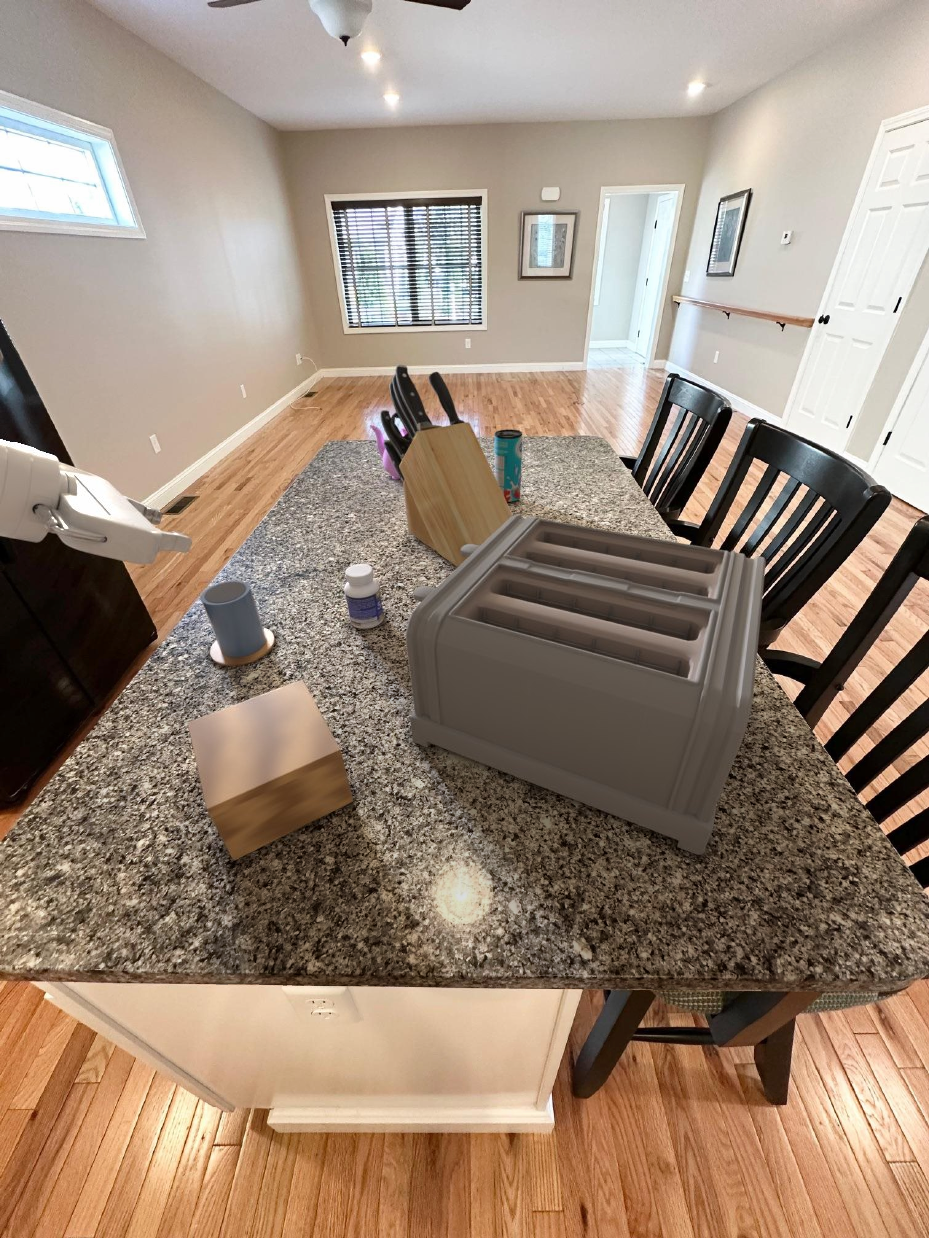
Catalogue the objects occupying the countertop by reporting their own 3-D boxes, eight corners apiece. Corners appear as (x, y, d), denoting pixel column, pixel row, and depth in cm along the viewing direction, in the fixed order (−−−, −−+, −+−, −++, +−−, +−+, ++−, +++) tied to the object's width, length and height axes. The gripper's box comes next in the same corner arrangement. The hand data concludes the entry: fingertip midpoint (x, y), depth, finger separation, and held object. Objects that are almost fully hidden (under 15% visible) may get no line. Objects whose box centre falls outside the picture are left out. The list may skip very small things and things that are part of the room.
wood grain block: (233, 861, 48) (206, 809, 44) (211, 773, 57) (187, 722, 52) (353, 801, 53) (340, 749, 49) (317, 728, 62) (302, 678, 57)
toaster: (492, 602, 83) (492, 500, 73) (732, 662, 69) (772, 547, 59) (383, 730, 61) (362, 609, 51) (702, 856, 47) (758, 724, 37)
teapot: (361, 479, 132) (354, 431, 125) (389, 462, 143) (384, 417, 136) (430, 488, 126) (427, 438, 119) (454, 470, 136) (452, 422, 129)
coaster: (216, 674, 71) (215, 672, 70) (205, 641, 77) (205, 639, 77) (281, 651, 74) (281, 649, 74) (266, 621, 81) (265, 619, 80)
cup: (225, 663, 72) (204, 610, 67) (216, 640, 76) (196, 588, 71) (271, 647, 74) (254, 594, 69) (260, 626, 79) (244, 575, 74)
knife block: (432, 506, 116) (421, 355, 99) (531, 568, 92) (540, 381, 74) (387, 519, 112) (367, 362, 94) (479, 587, 87) (475, 392, 69)
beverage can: (517, 506, 115) (519, 437, 107) (491, 503, 117) (491, 436, 108) (522, 496, 120) (525, 430, 111) (498, 494, 121) (498, 428, 113)
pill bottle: (387, 624, 79) (380, 574, 74) (354, 633, 77) (344, 582, 72) (379, 607, 83) (372, 558, 78) (347, 615, 81) (337, 566, 76)
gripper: (58, 495, 43) (218, 535, 54) (13, 438, 55) (152, 481, 66) (38, 564, 44) (199, 589, 55) (-2, 493, 56) (137, 526, 67)
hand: (173, 530), depth 61 cm, fingers open, 8 cm apart
